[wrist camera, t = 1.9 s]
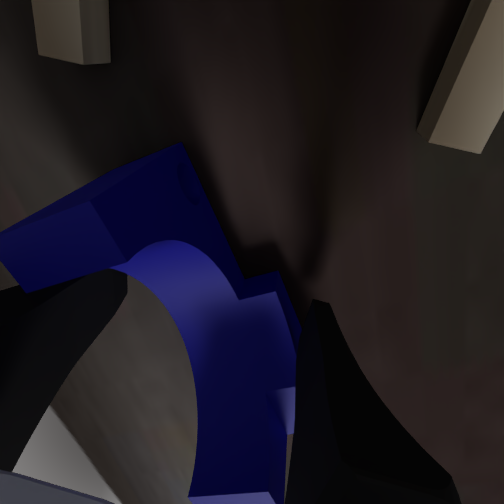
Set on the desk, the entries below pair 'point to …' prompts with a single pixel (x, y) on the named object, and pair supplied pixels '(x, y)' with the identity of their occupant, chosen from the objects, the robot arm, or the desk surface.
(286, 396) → the cable clip
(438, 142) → the channel
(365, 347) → the desk surface
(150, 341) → the desk surface
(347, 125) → the desk surface
